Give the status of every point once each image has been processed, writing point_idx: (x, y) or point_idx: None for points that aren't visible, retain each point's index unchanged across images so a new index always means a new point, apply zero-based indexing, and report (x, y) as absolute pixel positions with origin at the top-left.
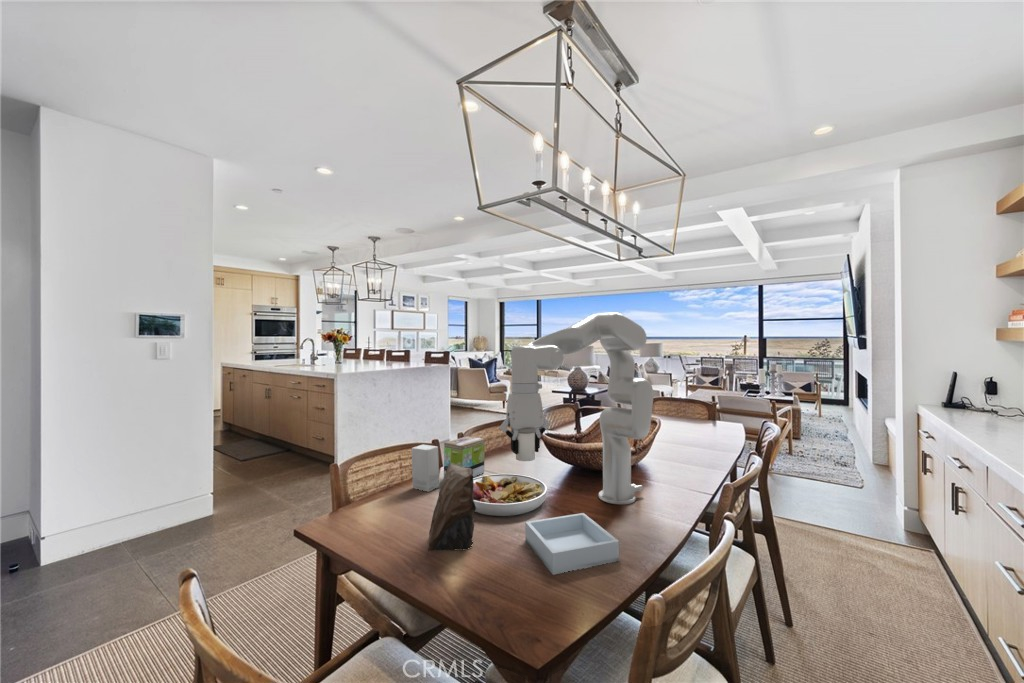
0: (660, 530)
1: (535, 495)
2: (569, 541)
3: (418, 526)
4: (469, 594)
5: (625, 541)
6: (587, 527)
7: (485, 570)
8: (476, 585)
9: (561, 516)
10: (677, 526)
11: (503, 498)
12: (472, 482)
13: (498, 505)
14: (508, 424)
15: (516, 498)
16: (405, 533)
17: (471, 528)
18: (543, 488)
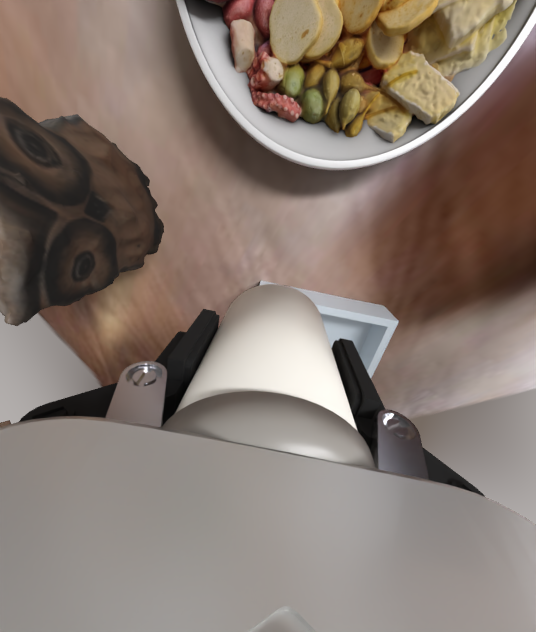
0: (490, 373)
1: (414, 112)
2: None
3: (38, 58)
4: (126, 360)
5: (404, 368)
6: (372, 337)
7: (159, 326)
8: (138, 349)
9: (343, 311)
10: (530, 378)
11: (309, 58)
12: (46, 303)
13: (254, 138)
14: (9, 436)
15: (341, 101)
16: (7, 90)
17: (130, 269)
18: (497, 54)
